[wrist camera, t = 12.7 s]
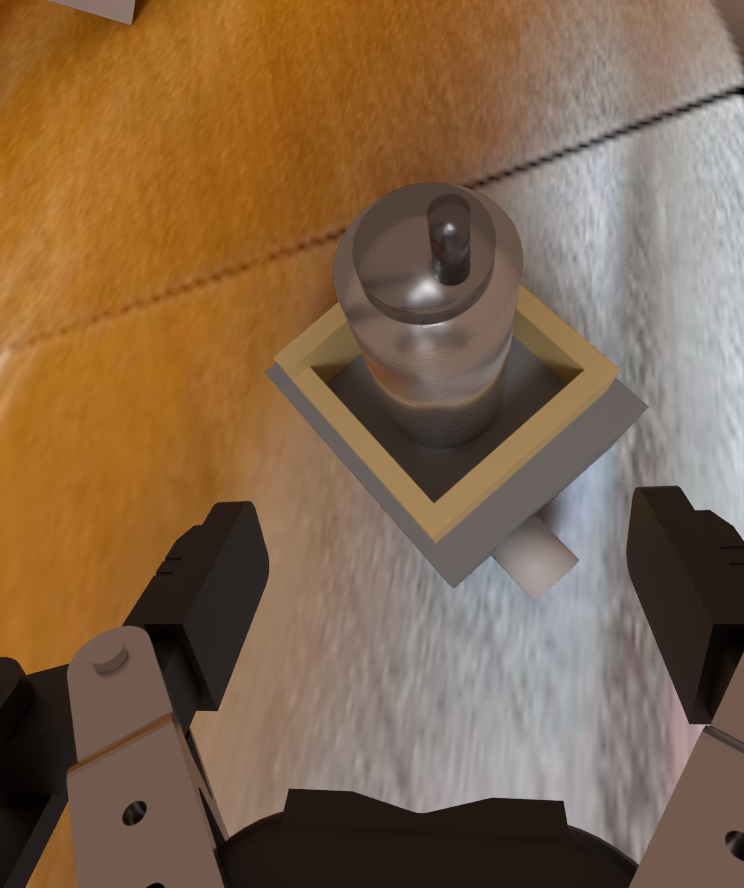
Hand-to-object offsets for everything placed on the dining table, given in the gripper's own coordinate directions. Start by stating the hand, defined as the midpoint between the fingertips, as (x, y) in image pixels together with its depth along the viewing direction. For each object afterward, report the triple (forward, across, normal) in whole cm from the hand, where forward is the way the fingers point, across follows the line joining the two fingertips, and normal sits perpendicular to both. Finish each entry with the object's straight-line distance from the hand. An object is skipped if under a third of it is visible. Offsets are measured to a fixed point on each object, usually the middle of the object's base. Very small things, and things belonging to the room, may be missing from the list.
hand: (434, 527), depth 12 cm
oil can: (+15, 0, +4) cm, 16 cm away
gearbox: (+20, -1, +9) cm, 22 cm away
